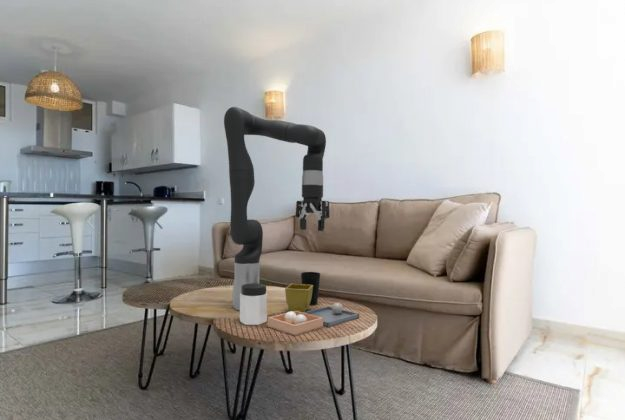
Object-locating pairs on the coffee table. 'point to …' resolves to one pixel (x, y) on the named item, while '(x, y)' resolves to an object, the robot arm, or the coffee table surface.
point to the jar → (253, 304)
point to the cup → (314, 280)
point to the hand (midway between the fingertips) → (311, 230)
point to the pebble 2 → (337, 308)
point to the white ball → (290, 317)
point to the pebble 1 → (300, 319)
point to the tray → (333, 316)
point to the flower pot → (298, 296)
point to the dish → (292, 329)
